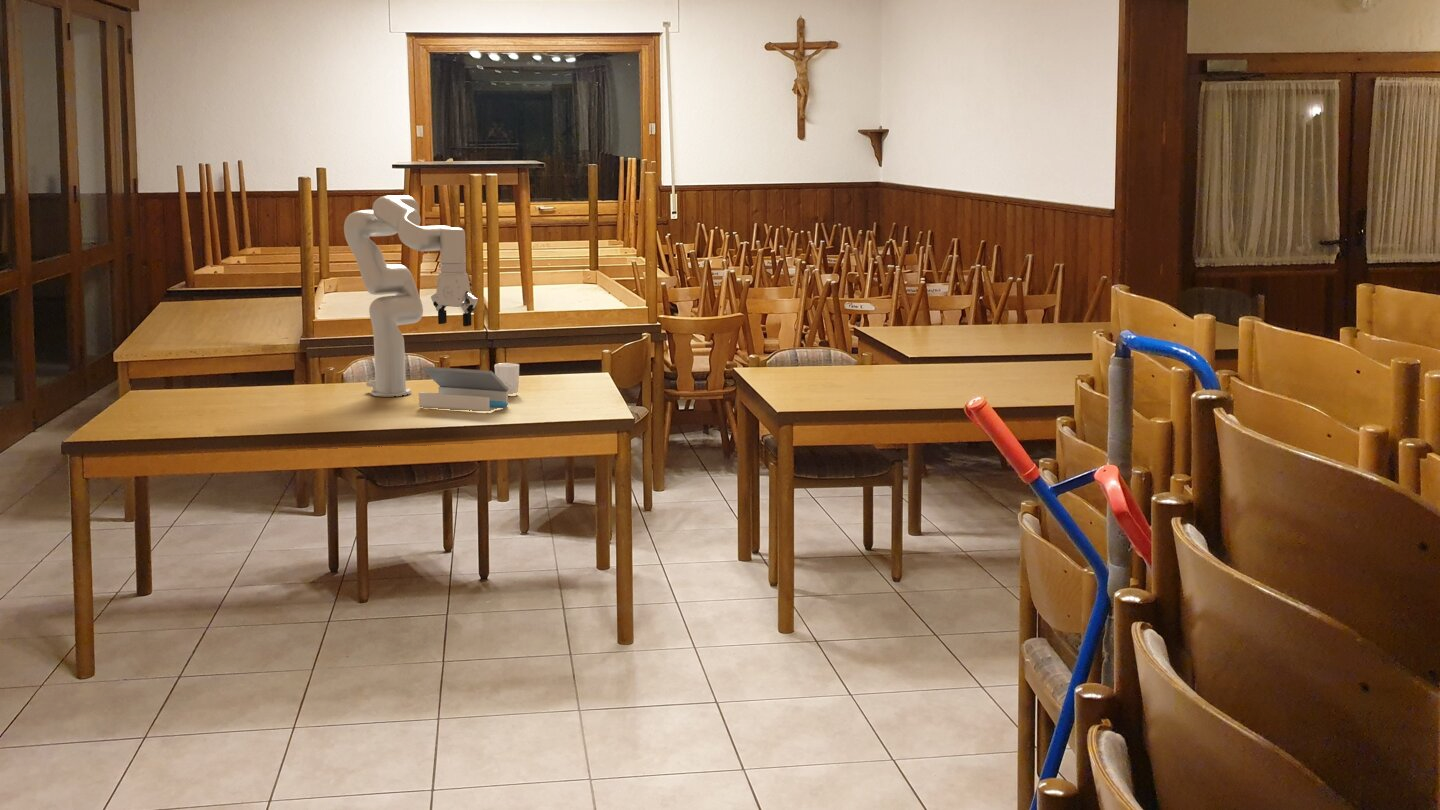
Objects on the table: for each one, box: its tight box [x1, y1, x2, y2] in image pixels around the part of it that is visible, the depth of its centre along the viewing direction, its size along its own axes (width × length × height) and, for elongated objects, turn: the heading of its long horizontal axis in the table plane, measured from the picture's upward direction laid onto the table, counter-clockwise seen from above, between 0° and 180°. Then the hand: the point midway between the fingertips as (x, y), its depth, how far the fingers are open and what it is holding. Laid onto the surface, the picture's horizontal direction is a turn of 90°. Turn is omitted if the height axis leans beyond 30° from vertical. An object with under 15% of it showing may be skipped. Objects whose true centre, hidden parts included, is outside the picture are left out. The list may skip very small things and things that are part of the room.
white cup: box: [493, 362, 520, 394], centre depth 458 cm, size 8×8×10 cm
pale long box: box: [418, 386, 509, 411], centre depth 436 cm, size 24×12×5 cm, turn 69°
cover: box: [421, 365, 509, 391], centre depth 436 cm, size 24×12×1 cm
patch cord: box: [489, 400, 507, 409], centre depth 436 cm, size 29×2×2 cm, turn 69°
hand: (454, 324), depth 435 cm, fingers open, 9 cm apart
